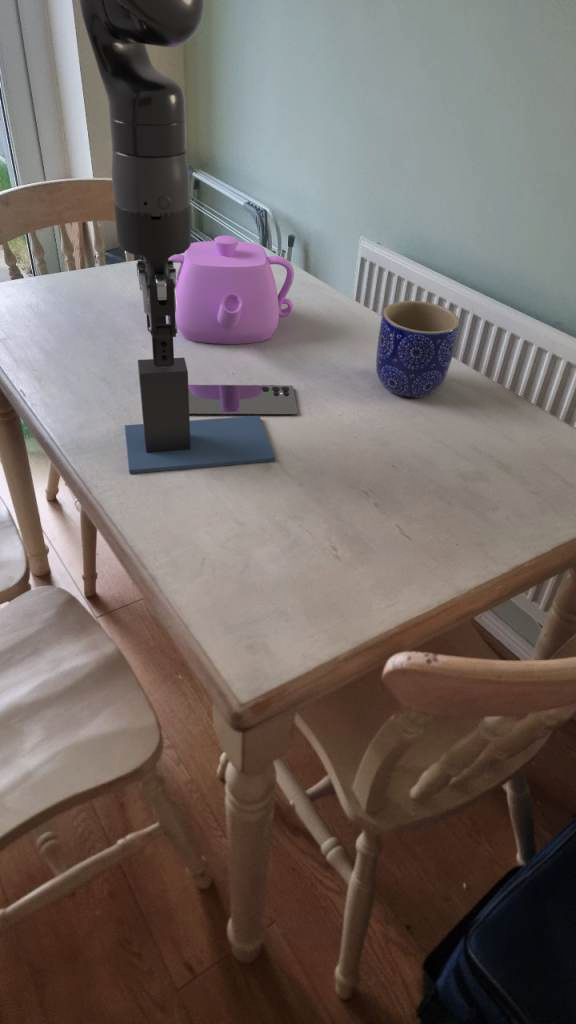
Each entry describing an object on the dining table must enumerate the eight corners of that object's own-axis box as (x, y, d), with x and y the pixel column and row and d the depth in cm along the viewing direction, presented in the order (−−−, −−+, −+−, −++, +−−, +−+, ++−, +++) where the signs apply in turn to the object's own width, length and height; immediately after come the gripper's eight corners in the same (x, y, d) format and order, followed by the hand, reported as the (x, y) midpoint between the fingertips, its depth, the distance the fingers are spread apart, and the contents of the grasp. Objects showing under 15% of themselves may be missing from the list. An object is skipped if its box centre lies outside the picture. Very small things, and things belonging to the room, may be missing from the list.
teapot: (230, 293, 127) (230, 211, 118) (314, 332, 117) (321, 246, 107) (145, 321, 116) (139, 234, 107) (230, 367, 106) (230, 274, 96)
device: (146, 453, 86) (139, 371, 79) (144, 437, 89) (137, 357, 82) (190, 449, 87) (187, 369, 80) (187, 434, 90) (184, 354, 83)
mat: (129, 474, 84) (129, 470, 83) (125, 428, 91) (124, 425, 91) (274, 461, 87) (275, 457, 87) (259, 419, 95) (259, 415, 94)
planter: (401, 362, 110) (414, 294, 103) (458, 389, 105) (475, 319, 97) (356, 383, 104) (366, 312, 97) (414, 413, 98) (429, 340, 91)
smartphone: (182, 384, 100) (292, 383, 101) (182, 387, 100) (292, 387, 102) (180, 412, 94) (297, 411, 96) (181, 416, 94) (297, 414, 96)
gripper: (111, 178, 74) (123, 322, 84) (116, 221, 63) (130, 379, 73) (181, 179, 75) (185, 320, 86) (199, 221, 65) (201, 376, 75)
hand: (160, 347), depth 80 cm, fingers open, 8 cm apart
